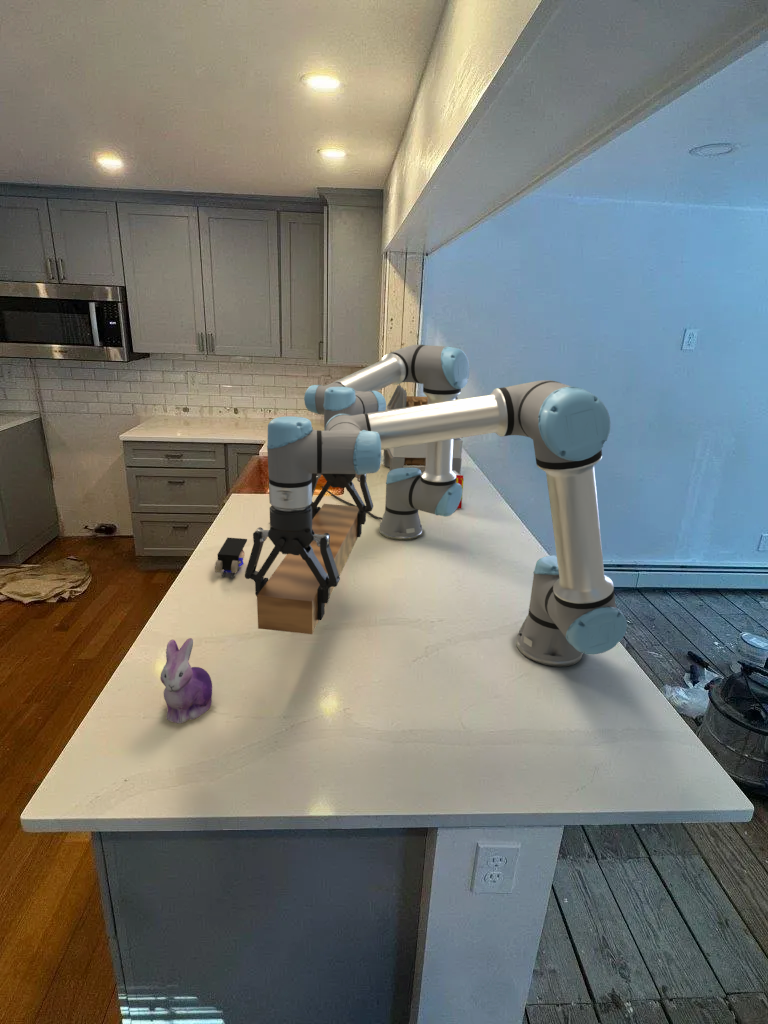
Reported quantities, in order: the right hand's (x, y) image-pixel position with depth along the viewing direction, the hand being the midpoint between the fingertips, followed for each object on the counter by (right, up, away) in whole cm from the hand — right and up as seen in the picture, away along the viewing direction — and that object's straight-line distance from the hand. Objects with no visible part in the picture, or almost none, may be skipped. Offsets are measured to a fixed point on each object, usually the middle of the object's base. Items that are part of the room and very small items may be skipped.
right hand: (293, 614), depth 109 cm
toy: (+43, +25, +132) cm, 141 cm away
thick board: (+3, +6, +20) cm, 21 cm away
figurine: (-20, -19, +1) cm, 28 cm away
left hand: (+6, +14, +40) cm, 42 cm away
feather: (-22, +18, +104) cm, 108 cm away
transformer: (+35, +38, +166) cm, 174 cm away
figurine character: (-27, +2, +59) cm, 65 cm away
